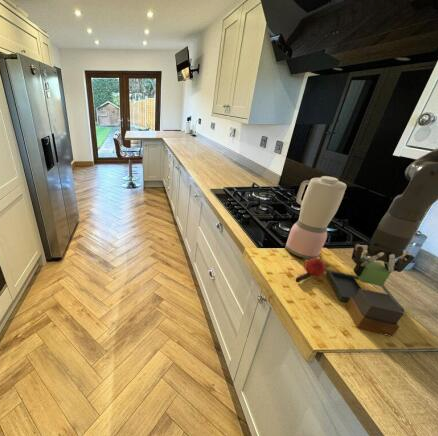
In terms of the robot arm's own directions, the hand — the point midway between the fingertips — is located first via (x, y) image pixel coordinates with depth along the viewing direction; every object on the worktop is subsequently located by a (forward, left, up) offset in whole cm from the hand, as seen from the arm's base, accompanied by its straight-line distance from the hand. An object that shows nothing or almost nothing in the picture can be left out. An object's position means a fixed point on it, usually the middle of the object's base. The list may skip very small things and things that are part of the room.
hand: (368, 276), depth 74 cm
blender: (+14, -21, -7) cm, 26 cm away
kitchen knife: (+13, -4, -6) cm, 15 cm away
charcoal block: (+3, +13, -3) cm, 14 cm away
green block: (0, 0, -1) cm, 1 cm away
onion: (+13, -4, -7) cm, 15 cm away
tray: (0, 0, -7) cm, 7 cm away
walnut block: (+3, +13, -7) cm, 15 cm away
